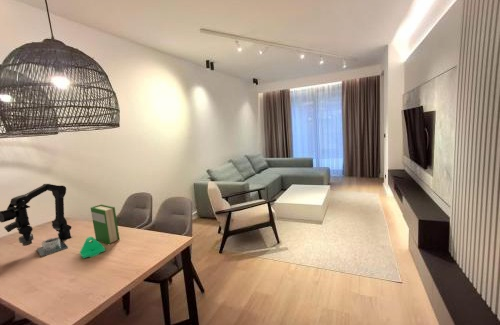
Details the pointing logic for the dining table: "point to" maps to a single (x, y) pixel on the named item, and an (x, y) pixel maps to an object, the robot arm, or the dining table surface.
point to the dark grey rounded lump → (23, 241)
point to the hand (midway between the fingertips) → (26, 239)
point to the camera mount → (91, 248)
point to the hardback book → (105, 223)
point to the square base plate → (51, 246)
